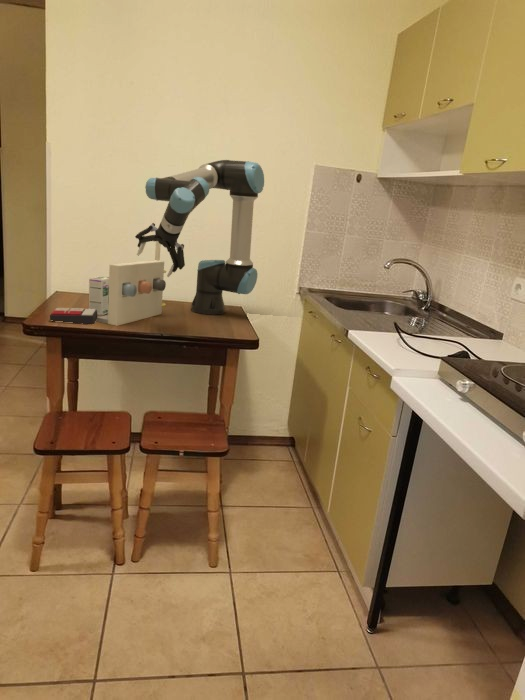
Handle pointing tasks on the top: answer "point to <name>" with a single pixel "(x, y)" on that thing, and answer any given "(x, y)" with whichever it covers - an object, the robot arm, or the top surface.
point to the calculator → (74, 315)
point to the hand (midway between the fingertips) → (154, 264)
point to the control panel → (142, 303)
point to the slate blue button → (129, 289)
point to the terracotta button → (144, 287)
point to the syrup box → (99, 294)
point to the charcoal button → (159, 284)
